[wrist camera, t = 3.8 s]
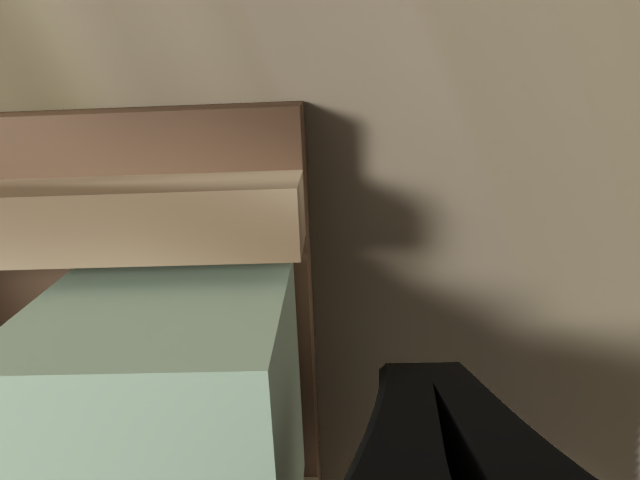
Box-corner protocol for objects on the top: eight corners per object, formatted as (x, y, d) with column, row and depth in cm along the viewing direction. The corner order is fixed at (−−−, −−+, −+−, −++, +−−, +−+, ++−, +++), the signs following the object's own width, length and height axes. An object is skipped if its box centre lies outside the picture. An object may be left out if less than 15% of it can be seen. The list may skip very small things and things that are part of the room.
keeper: (305, 464, 12) (289, 655, 8) (116, 466, 12) (14, 655, 8) (292, 256, 11) (268, 370, 7) (79, 262, 11) (-63, 376, 7)
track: (322, 519, 14) (314, 773, 9) (-94, 523, 14) (-319, 768, 9) (303, 100, 11) (275, 138, 6) (-225, 120, 11) (-658, 171, 6)
